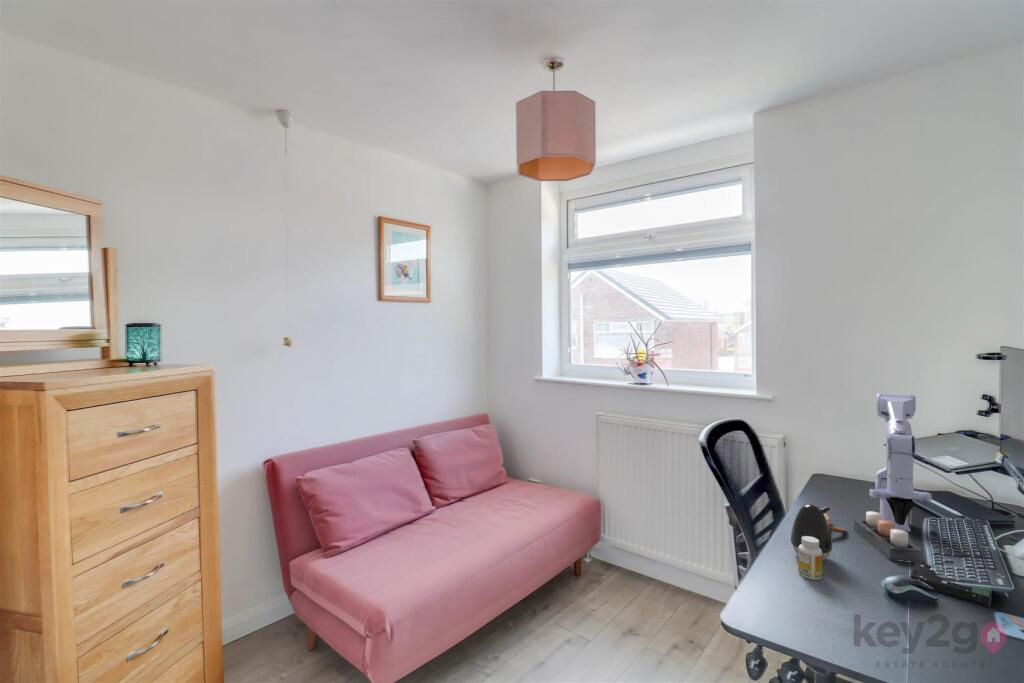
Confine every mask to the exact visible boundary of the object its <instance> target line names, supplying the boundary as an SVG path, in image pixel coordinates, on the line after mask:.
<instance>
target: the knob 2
mask: <svg viewBox="0 0 1024 683" xmlns="http://www.w3.org/2000/svg"><path fill="white" fill-rule="evenodd" d="M908 540H909V532H908V531H903V530H899V529H891V530H890V544H891V545H892V546H894V547H899V548H908Z"/></svg>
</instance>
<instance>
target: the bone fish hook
mask: <svg viewBox="0 0 1024 683" xmlns="http://www.w3.org/2000/svg"><path fill="white" fill-rule="evenodd" d="M824 516H825V518H826V520H827V523H828V526H829V529H830V532H832V533H834V532H835V533H840V534H843V533H844V534H845V533H847V529H845V528H844V527H838V526H833V525H831V518H830V515H829V514H827V513H824Z"/></svg>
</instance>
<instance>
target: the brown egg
mask: <svg viewBox="0 0 1024 683" xmlns="http://www.w3.org/2000/svg"><path fill="white" fill-rule="evenodd" d="M891 529H895V524H894V523H893V522H891V521H887V520H878V535H879V536H881V537H890V530H891Z"/></svg>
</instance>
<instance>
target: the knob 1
mask: <svg viewBox="0 0 1024 683" xmlns="http://www.w3.org/2000/svg"><path fill="white" fill-rule="evenodd" d="M865 520H866V525H867V526H868V527H872V528H878V520H882V514H880V512H877V511H872V510H869V511H866V512H865Z"/></svg>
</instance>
